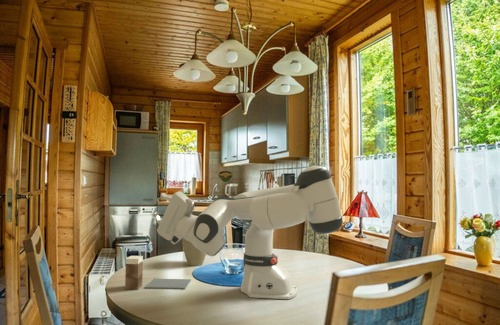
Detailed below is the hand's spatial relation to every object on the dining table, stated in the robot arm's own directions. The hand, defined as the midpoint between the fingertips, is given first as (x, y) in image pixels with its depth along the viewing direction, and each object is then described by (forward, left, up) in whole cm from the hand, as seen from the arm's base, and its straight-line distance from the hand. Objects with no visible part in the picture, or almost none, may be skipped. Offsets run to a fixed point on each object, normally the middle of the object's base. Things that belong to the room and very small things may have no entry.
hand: (157, 204), depth 127 cm
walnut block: (+13, -4, -34) cm, 37 cm away
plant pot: (+7, -45, -34) cm, 57 cm away
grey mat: (+2, -12, -34) cm, 36 cm away
